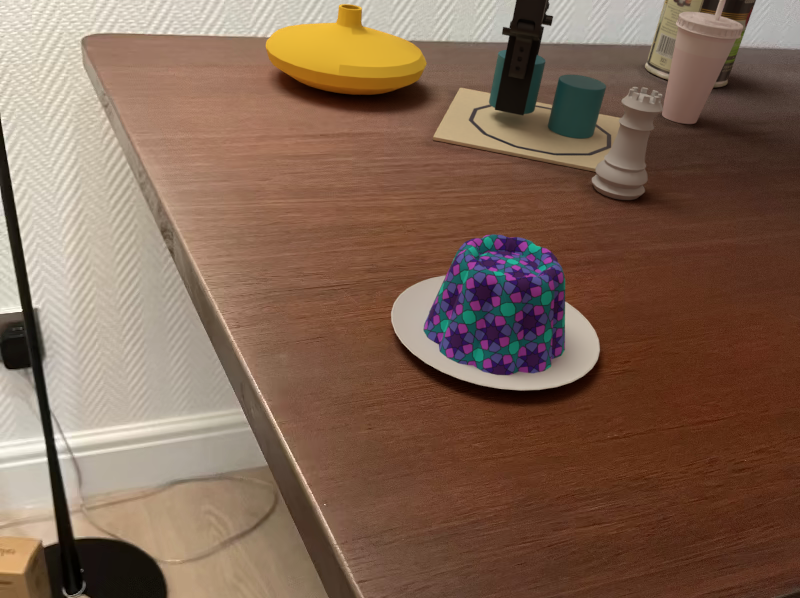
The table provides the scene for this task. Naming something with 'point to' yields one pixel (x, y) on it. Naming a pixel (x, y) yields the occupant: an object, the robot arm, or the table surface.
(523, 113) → the robot arm
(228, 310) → the table surface
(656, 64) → the coffee can
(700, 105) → the smoothie
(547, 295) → the pudding
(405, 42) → the vase
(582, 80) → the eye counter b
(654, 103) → the rook chess piece
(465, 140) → the sheet
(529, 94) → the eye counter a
